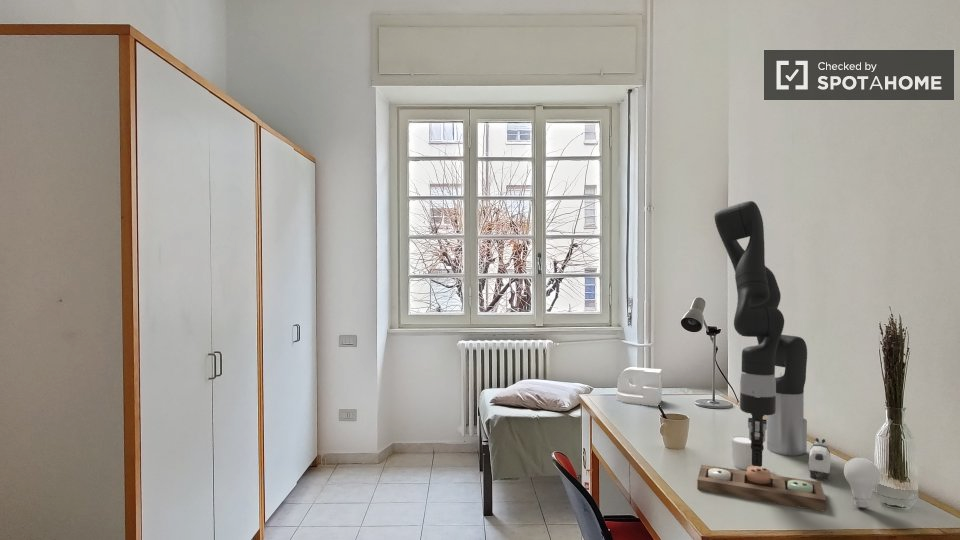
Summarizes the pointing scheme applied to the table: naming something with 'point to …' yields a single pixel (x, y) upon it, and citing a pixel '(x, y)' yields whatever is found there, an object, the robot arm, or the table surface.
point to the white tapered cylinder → (741, 452)
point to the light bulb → (861, 480)
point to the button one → (719, 474)
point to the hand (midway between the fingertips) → (756, 465)
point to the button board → (763, 489)
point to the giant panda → (819, 459)
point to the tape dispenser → (640, 386)
